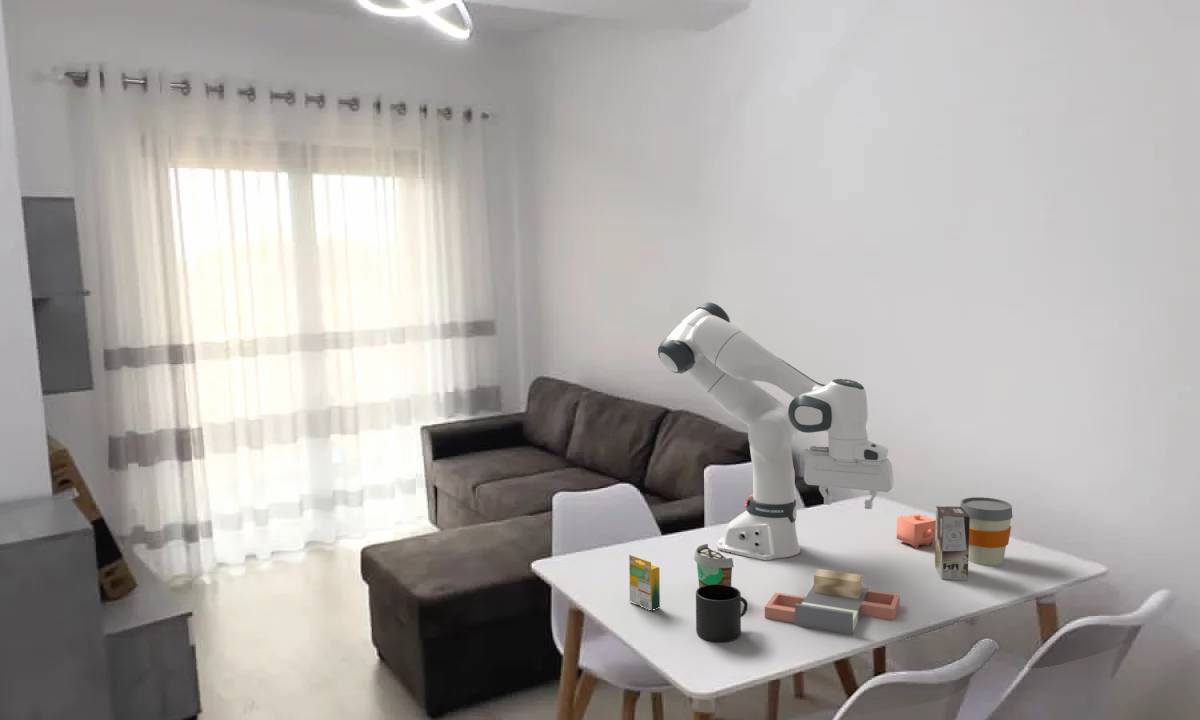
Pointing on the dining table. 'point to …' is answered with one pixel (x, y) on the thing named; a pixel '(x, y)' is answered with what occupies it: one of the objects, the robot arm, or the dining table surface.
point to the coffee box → (952, 543)
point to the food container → (712, 567)
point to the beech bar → (838, 583)
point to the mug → (719, 612)
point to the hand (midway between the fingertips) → (848, 506)
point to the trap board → (832, 609)
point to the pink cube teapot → (916, 529)
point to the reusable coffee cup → (987, 529)
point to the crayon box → (644, 583)
